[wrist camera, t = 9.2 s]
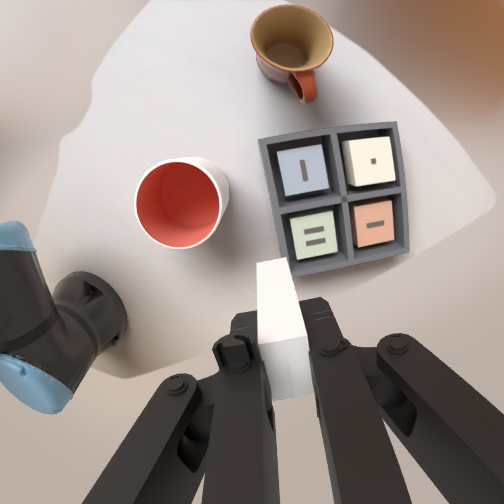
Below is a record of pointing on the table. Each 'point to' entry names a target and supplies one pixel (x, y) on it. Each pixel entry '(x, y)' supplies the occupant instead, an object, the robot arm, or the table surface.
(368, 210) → the terracotta key
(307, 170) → the slate key
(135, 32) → the table surface
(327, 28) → the mug
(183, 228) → the cup
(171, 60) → the table surface
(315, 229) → the sage key
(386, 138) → the cream key
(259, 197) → the table surface
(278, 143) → the grey compartment tray
